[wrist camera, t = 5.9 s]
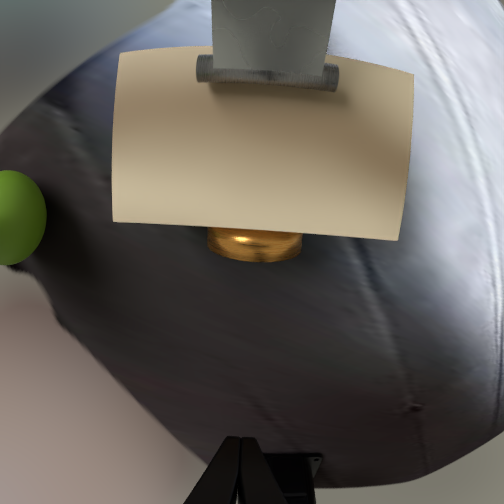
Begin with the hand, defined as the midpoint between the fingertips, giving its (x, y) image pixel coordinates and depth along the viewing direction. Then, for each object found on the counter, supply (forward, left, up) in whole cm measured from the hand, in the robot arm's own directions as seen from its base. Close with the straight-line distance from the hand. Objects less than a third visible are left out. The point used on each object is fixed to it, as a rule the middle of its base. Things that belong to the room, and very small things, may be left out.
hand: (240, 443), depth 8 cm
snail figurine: (+5, +14, -11) cm, 18 cm away
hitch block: (+8, 0, -10) cm, 13 cm away
